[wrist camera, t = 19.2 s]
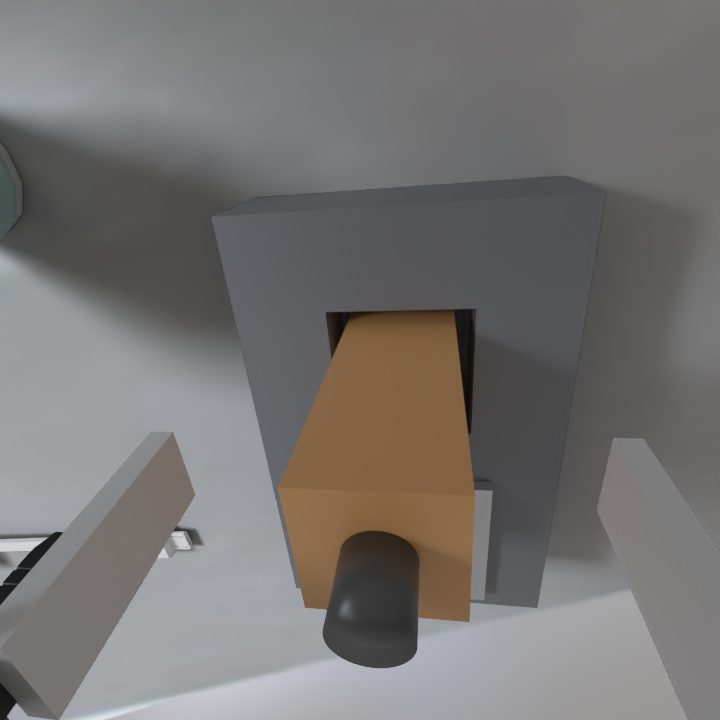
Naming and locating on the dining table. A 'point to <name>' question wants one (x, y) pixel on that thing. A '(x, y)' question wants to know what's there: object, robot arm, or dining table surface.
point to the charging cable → (28, 544)
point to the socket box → (430, 292)
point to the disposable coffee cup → (9, 193)
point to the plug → (384, 487)
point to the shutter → (480, 538)
